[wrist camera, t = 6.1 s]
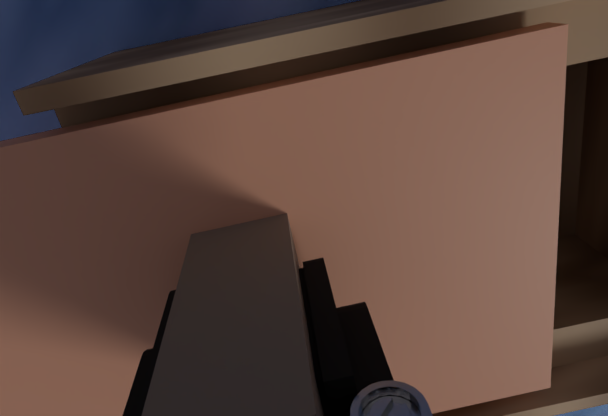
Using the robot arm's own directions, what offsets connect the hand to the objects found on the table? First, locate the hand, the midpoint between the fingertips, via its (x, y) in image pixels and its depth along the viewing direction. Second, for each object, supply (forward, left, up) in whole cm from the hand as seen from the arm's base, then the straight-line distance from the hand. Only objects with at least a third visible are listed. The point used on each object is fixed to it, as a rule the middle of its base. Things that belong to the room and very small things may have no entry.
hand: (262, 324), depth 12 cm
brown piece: (0, 0, -2) cm, 2 cm away
